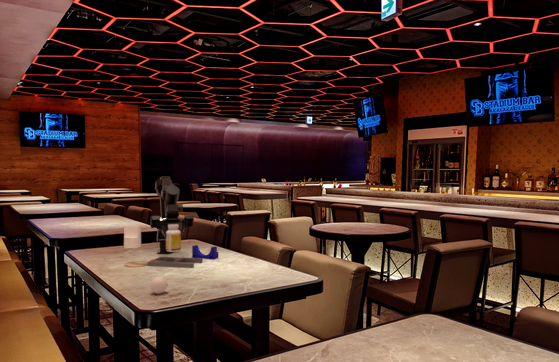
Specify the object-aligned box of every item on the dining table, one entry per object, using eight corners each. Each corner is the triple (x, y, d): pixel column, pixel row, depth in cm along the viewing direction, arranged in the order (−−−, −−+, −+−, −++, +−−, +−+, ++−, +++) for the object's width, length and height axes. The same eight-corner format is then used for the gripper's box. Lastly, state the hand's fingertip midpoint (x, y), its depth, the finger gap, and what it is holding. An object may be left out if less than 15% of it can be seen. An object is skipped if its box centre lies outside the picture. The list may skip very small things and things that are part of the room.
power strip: (160, 260, 188) (160, 255, 188) (202, 262, 185) (202, 257, 185) (147, 265, 177) (147, 260, 177) (192, 267, 173) (192, 262, 173)
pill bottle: (183, 250, 179) (183, 224, 178) (172, 252, 173) (172, 226, 173) (173, 248, 182) (174, 223, 182) (162, 251, 177) (162, 225, 177)
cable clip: (218, 258, 195) (218, 246, 195) (213, 260, 191) (213, 247, 191) (197, 256, 199) (197, 244, 199) (192, 258, 195) (192, 245, 195)
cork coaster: (132, 261, 186) (132, 260, 186) (154, 262, 184) (154, 261, 184) (119, 266, 175) (119, 265, 175) (142, 267, 173) (142, 266, 173)
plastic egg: (167, 295, 133) (167, 278, 133) (150, 296, 132) (150, 279, 132) (167, 288, 141) (167, 273, 141) (150, 290, 139) (150, 274, 139)
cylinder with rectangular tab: (120, 248, 220) (120, 226, 220) (129, 245, 229) (129, 224, 229) (135, 248, 219) (135, 227, 219) (143, 246, 228) (143, 225, 228)
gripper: (150, 198, 178) (152, 226, 168) (193, 197, 184) (196, 224, 174) (150, 213, 185) (151, 241, 175) (190, 212, 192) (194, 239, 182)
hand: (173, 236), depth 176 cm, fingers closed on pill bottle, 6 cm apart
